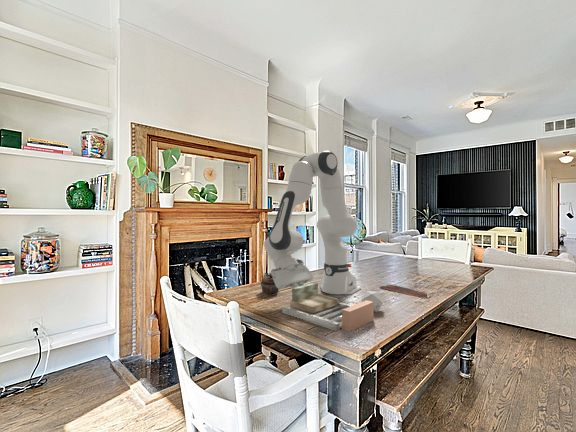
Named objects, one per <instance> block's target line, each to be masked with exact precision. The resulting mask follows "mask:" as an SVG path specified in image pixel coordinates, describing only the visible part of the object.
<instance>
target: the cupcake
mask: <svg viewBox="0 0 576 432" xmlns="http://www.w3.org/2000/svg"><path fill="white" fill-rule="evenodd" d="M260 287H261V291H262V294H263V295H267V296H268V295H270V296H272V295H273V294H274V295H277V294H279V290H280V289H278V288H277V287H276V285H275V283H274V280H273V277H272V275H271V272H264V274H263V277H262V280H261V281H260ZM274 295H273V296H274Z"/></svg>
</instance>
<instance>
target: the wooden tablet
mask: <svg viewBox="0 0 576 432" xmlns="http://www.w3.org/2000/svg"><path fill="white" fill-rule="evenodd" d="M379 289H382V290H386V291H390V292H394V293H400V294H403V295H408V296H413V297H418V298H422V297H427V294H428V293H426V292H423V291H419V290H416V289H412V288H407V287H404V286H400V285H394V284H386V285H381V286H379Z"/></svg>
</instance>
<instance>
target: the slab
mask: <svg viewBox="0 0 576 432" xmlns="http://www.w3.org/2000/svg"><path fill="white" fill-rule="evenodd" d="M318 287H319V283H317V282H313V283H312V282H311V283H309V284H308V283H306V284H304V285H303V286H298V287H295V288H292V287H291V300H290V301H289V302H290V305H289V307H293V308H296V309H300V310H303V311H306V312H309V313H312V314H313V313H316V312H319V311H322V310H324V309H327V308H330V307H333V306H335V305H338V302H339V299H338V298H337V297H333V296H328V295H325V294H321V293H319V288H318Z"/></svg>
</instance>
